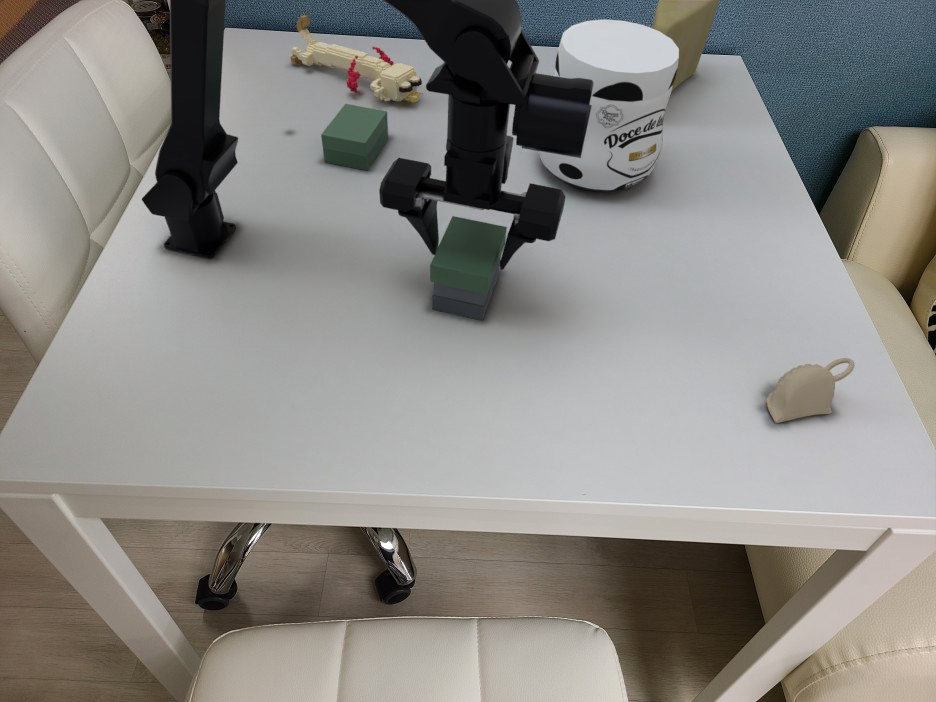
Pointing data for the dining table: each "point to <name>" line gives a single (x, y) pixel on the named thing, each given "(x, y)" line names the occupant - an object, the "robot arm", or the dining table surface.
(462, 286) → the sage block
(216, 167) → the robot arm
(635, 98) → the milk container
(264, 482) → the dining table surface
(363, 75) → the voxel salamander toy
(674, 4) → the cheese
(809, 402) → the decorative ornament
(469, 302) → the grey stack
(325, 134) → the sage stack
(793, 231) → the dining table surface
